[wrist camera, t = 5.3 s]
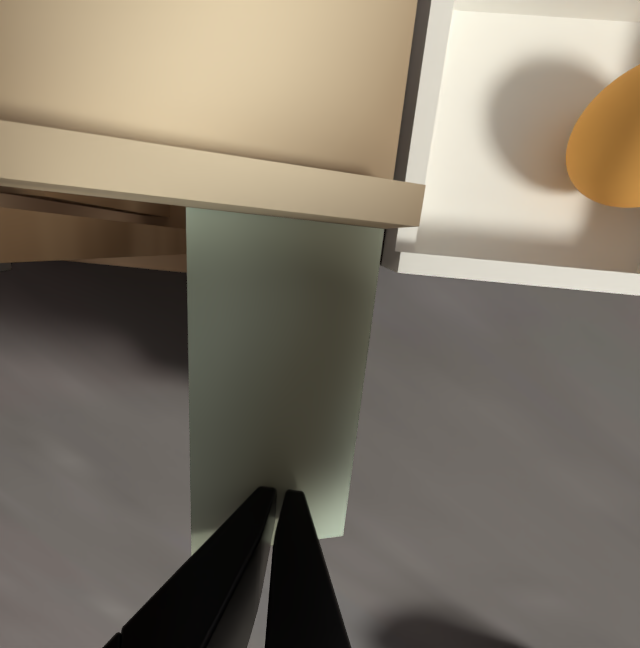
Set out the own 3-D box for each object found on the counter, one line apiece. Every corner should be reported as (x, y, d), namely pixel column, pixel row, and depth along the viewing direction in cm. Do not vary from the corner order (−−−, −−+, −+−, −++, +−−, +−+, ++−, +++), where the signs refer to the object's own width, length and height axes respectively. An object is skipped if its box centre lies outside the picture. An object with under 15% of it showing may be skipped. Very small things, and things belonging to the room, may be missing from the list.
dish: (381, 265, 11) (397, 272, 8) (417, -1, 9) (456, -124, 6) (632, 288, 10) (747, 305, 7) (723, 19, 8) (925, -101, 6)
